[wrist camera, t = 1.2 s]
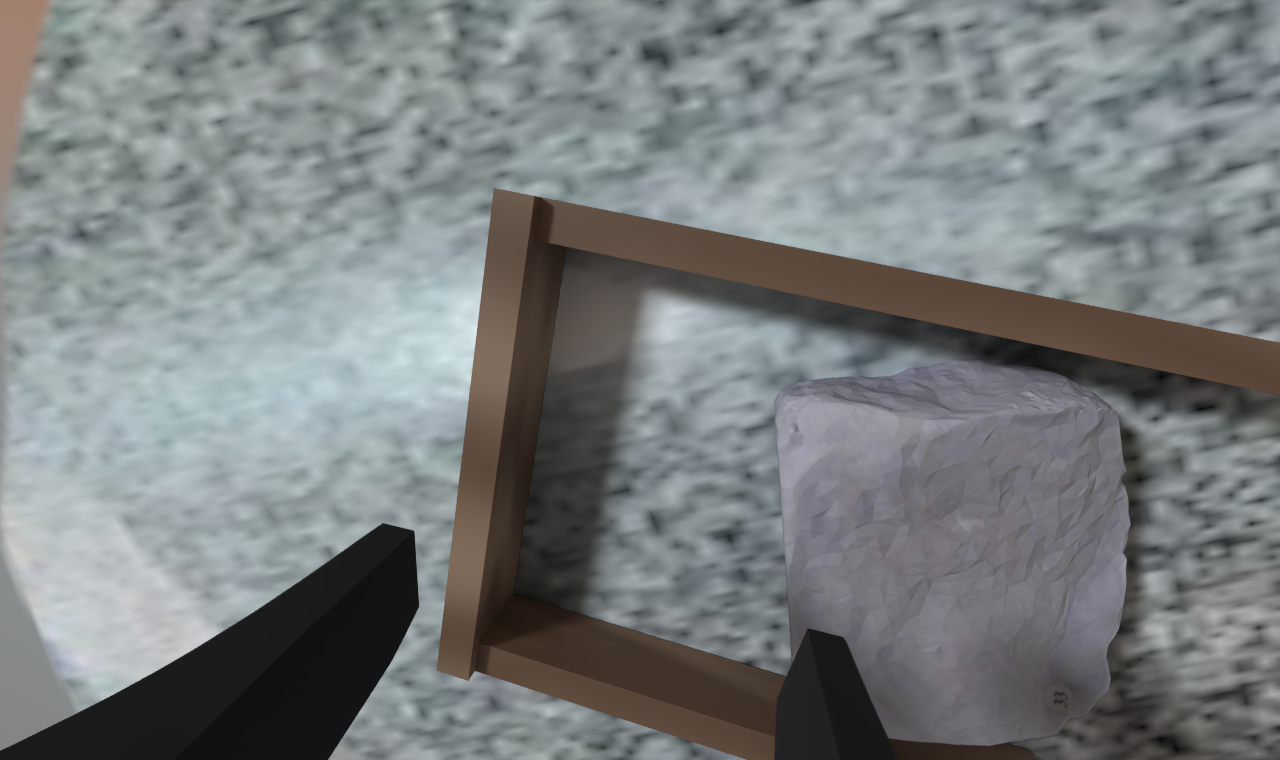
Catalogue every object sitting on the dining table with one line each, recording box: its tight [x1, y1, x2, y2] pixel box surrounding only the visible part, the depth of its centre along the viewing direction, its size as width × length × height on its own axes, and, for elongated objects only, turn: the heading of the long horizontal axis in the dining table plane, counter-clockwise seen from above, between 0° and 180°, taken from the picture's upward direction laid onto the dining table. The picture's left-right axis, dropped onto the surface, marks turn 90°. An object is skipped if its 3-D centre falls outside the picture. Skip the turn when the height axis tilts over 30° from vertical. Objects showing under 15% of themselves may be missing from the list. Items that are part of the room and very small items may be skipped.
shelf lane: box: [437, 188, 1280, 760], centre depth 19 cm, size 16×21×4 cm
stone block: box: [774, 359, 1131, 746], centre depth 19 cm, size 12×5×10 cm
